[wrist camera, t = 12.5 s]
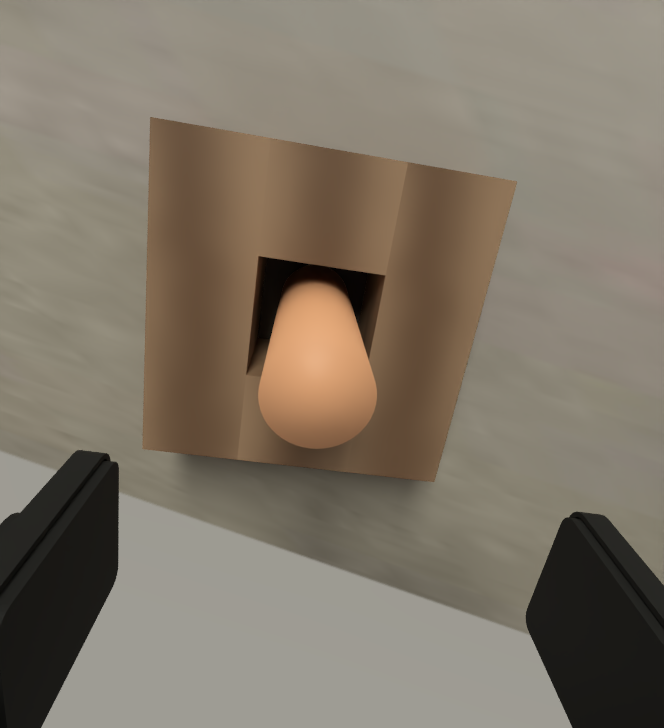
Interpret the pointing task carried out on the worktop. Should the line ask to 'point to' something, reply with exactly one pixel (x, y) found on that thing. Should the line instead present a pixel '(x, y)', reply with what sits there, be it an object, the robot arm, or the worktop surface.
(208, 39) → the worktop surface
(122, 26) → the worktop surface
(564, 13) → the worktop surface
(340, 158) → the socket block
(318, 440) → the peg
